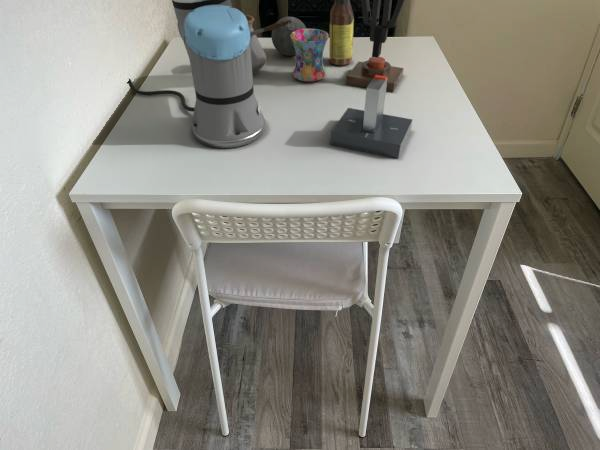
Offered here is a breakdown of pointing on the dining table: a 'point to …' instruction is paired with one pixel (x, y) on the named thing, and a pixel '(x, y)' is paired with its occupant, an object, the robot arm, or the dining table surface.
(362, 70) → the button block
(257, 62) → the coffee pot
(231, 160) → the dining table surface
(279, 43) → the decorative ball
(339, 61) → the sauce bottle
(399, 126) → the panel
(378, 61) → the button
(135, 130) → the dining table surface
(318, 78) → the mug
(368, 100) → the tap handle
